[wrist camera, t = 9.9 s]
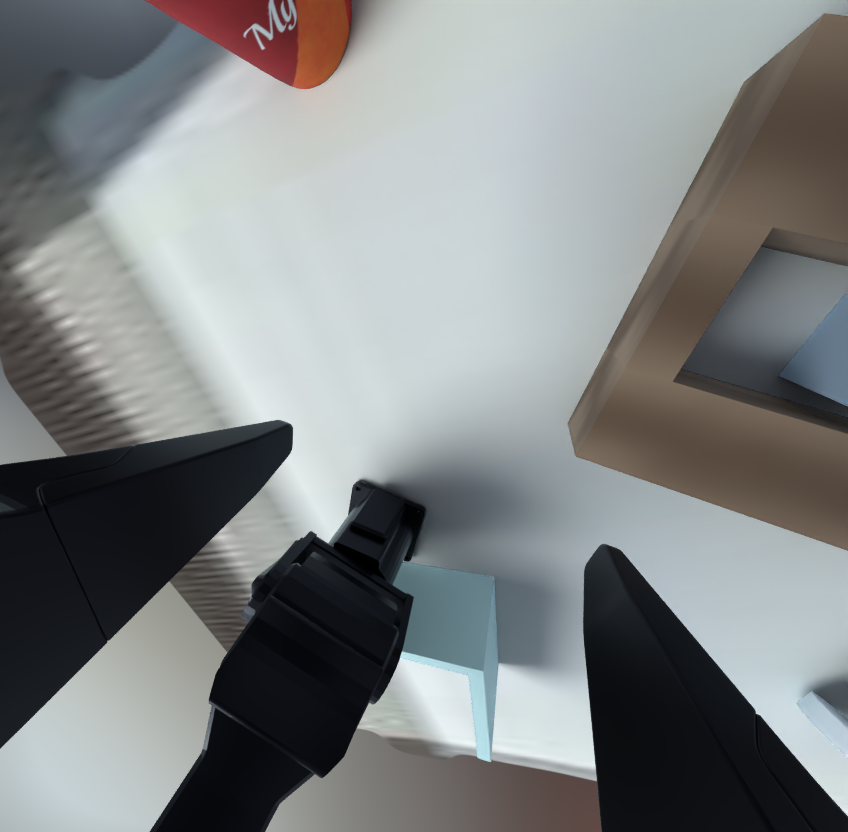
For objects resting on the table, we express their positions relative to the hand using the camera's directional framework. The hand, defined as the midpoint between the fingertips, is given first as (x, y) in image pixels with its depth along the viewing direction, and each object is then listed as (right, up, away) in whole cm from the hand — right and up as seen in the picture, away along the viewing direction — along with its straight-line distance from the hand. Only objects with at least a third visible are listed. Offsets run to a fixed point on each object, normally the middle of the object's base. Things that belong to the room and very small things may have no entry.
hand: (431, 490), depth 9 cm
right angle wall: (+1, -17, +23) cm, 29 cm away
